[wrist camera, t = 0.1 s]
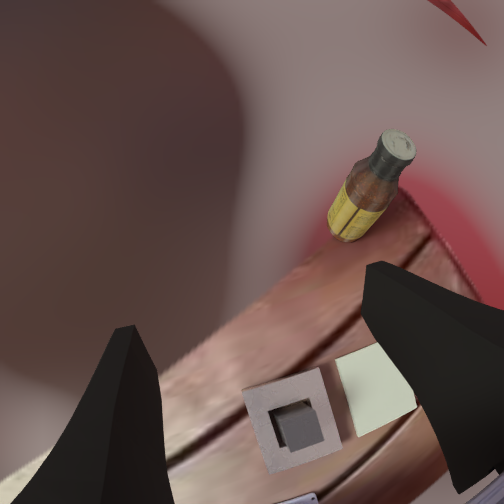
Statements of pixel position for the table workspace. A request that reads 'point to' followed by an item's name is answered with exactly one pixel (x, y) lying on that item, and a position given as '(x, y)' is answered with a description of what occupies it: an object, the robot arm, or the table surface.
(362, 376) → the pad
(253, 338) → the table surface
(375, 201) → the sauce bottle
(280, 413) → the peg
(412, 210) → the table surface
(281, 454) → the socket block
